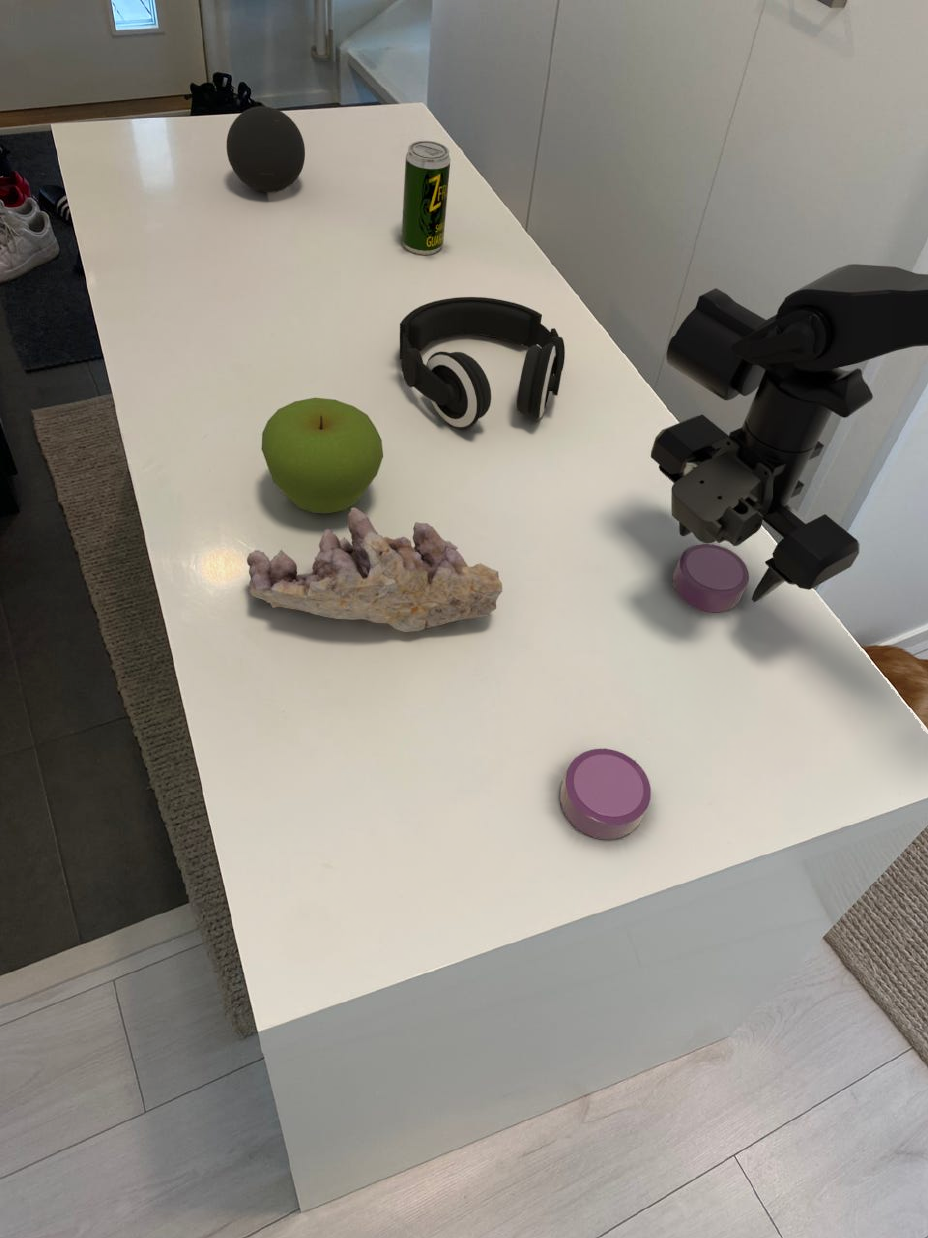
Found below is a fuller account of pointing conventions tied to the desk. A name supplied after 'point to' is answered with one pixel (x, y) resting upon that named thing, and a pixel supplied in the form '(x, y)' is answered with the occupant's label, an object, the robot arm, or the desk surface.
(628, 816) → the dish
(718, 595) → the dish
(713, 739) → the desk surface
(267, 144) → the speaker
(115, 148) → the desk surface
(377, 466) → the apple
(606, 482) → the desk surface
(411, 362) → the headphones
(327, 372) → the desk surface
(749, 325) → the robot arm
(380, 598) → the mineral specimen
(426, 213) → the green energy drink can
